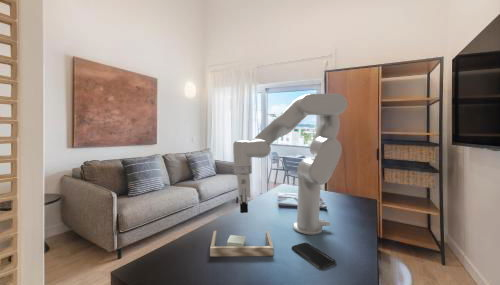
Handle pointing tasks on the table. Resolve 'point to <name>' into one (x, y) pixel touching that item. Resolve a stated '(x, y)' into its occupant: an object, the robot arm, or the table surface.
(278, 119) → the robot arm
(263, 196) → the table surface
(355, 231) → the table surface
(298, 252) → the phone
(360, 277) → the table surface
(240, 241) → the sage tile
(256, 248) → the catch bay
